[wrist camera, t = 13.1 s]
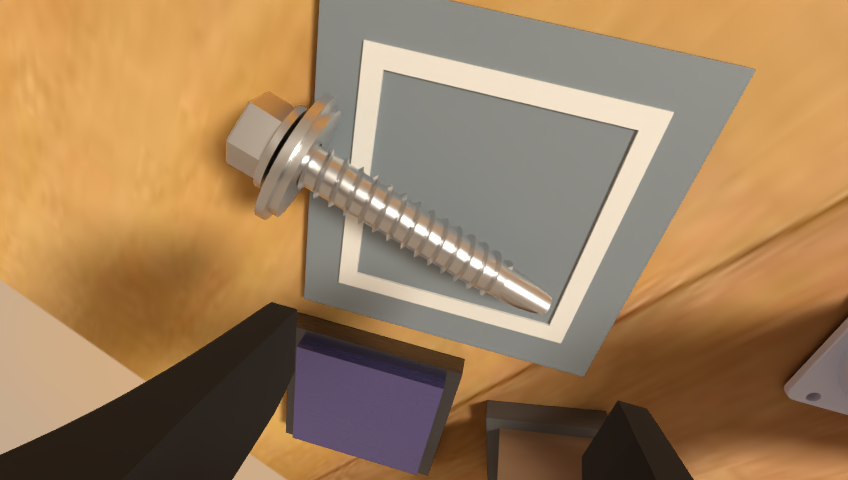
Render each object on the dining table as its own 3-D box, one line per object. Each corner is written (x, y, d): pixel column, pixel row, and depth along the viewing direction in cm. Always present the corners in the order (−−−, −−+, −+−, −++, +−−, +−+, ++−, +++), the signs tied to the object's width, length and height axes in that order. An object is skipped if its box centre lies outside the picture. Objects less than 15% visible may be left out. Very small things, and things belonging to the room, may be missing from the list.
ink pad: (464, 359, 22) (460, 383, 21) (430, 460, 27) (425, 485, 25) (297, 312, 23) (283, 332, 21) (293, 418, 27) (281, 441, 26)
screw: (255, 155, 18) (185, 211, 14) (299, 49, 15) (231, 78, 11) (508, 306, 20) (513, 391, 16) (582, 235, 18) (609, 314, 14)
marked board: (748, 67, 14) (757, 70, 13) (582, 369, 21) (583, 378, 20) (326, -28, 15) (319, -29, 14) (308, 293, 22) (302, 300, 21)
